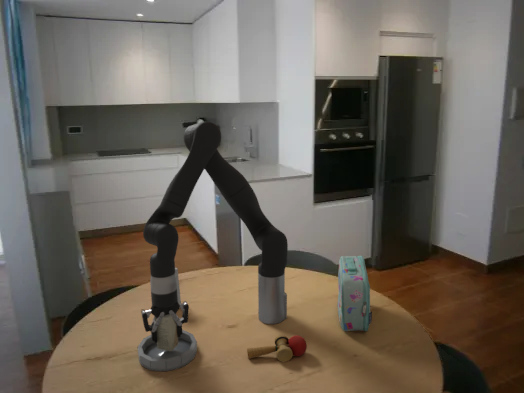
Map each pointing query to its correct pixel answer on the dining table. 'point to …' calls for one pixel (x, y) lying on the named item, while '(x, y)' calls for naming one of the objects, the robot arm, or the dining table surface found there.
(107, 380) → the dining table surface
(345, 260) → the lunch box
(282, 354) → the kendama
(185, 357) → the round tray
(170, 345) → the box
